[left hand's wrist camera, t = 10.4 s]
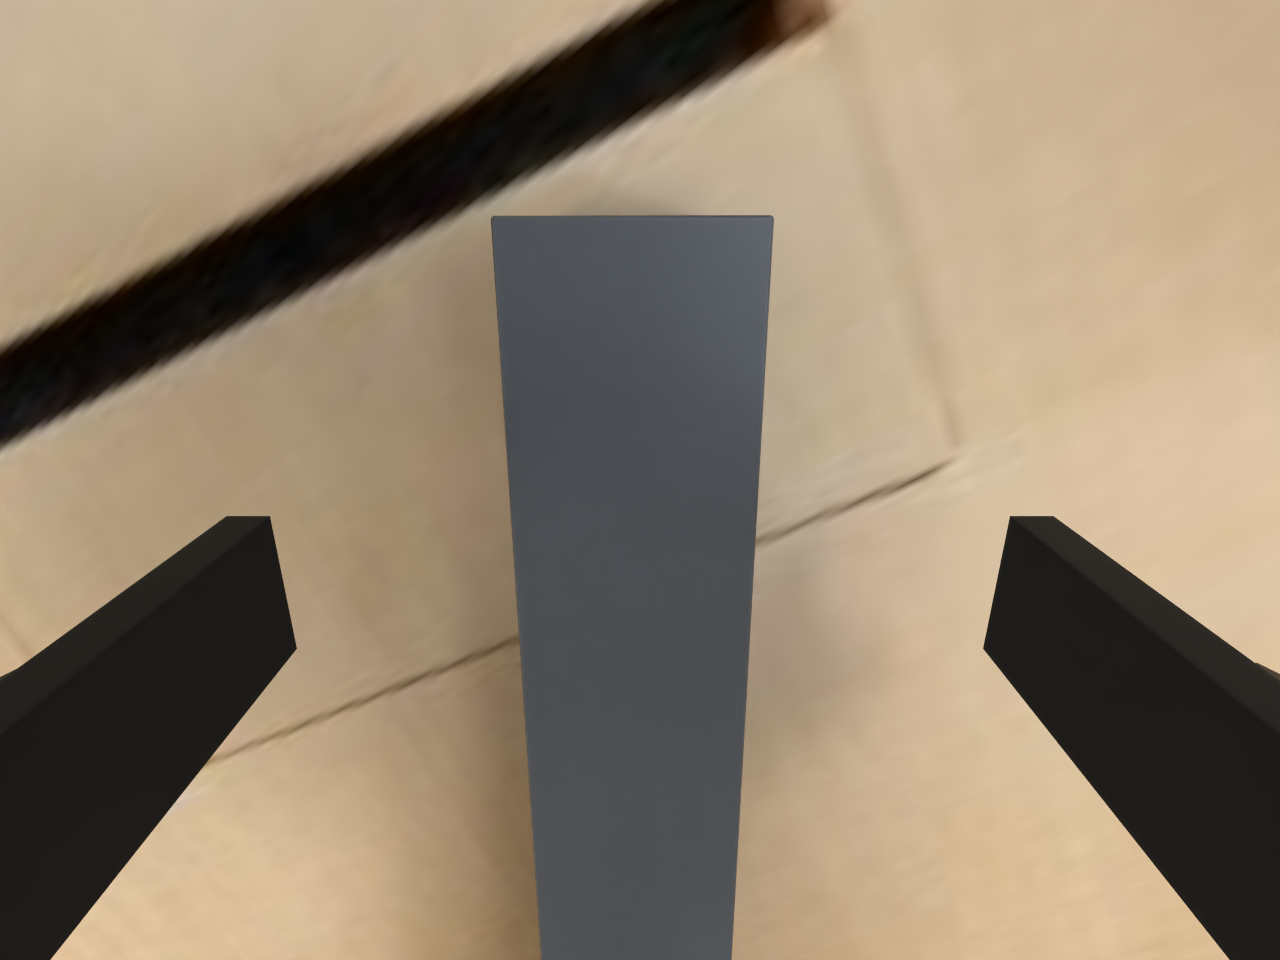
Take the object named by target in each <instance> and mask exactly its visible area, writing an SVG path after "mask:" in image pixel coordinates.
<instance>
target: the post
mask: <svg viewBox="0 0 1280 960" xmlns="http://www.w3.org/2000/svg"><path fill="white" fill-rule="evenodd" d="M773 223H774V218H773V216H771V215H709V216H493V217H492V218H491V228H492V243H493V257H494V272H495V287H496V301H497V316H498V331H499V346H500V360H501V375H502V390H503V404H504V419H505V434H506V449H507V463H508V478H509V493H510V507H511V522H512V537H513V552H514V566H515V581H516V596H517V610H518V625H519V640H520V655H521V669H522V684H523V699H524V713H525V728H526V743H527V758H528V772H529V787H530V802H531V816H532V831H533V846H534V861H535V875H536V890H537V905H538V919H539V934H540V949H541V960H731V958H732V941H733V923H734V906H735V888H736V871H737V853H738V836H739V818H740V801H741V783H742V766H743V748H744V731H745V713H746V696H747V678H748V661H749V643H750V626H751V608H752V591H753V573H754V556H755V538H756V521H757V503H758V486H759V468H760V451H761V433H762V416H763V398H764V381H765V363H766V346H767V328H768V311H769V293H770V276H771V258H772V241H773Z"/></svg>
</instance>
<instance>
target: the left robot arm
mask: <svg viewBox="0 0 1280 960" xmlns="http://www.w3.org/2000/svg"><path fill="white" fill-rule="evenodd" d="M296 649H297V647H296V642H295V637H294V633H293V628H292V623H291V618H290V613H289V608H288V603H287V598H286V593H285V588H284V583H283V579H282V574H281V569H280V564H279V559H278V554H277V549H276V544H275V539H274V534H273V529H272V525H271V520H270V516H226V517H225V518H224V519H222V520H221V521H219V522H218V523H217V524H215V525H214V526H213V527H211V528H210V529H208V530H207V531H206V532H204V533H203V534H202V535H200V536H199V537H197V538H196V539H195V540H193V541H192V542H191V543H189V544H188V545H187V546H185V547H184V548H182V549H181V550H180V551H178V552H177V553H176V554H174V555H173V556H171V557H170V558H169V559H167V560H166V561H165V562H163V563H162V564H160V565H159V566H158V567H156V568H155V569H154V570H152V571H151V572H149V573H148V574H147V575H145V576H144V577H143V578H141V579H140V580H138V581H137V582H136V583H134V584H133V585H132V586H130V587H129V588H127V589H126V590H125V591H123V592H122V593H121V594H119V595H118V596H116V597H115V598H114V599H112V600H111V601H110V602H108V603H107V604H106V605H104V606H103V607H101V608H100V609H99V610H97V611H96V612H95V613H93V614H92V615H90V616H89V617H88V618H86V619H85V620H84V621H82V622H81V623H79V624H78V625H77V626H75V627H74V628H73V629H71V630H70V631H68V632H67V633H66V634H64V635H63V636H62V637H60V638H59V639H57V640H56V641H55V642H53V643H52V644H51V645H49V646H48V647H46V648H45V649H44V650H42V651H41V652H40V653H38V654H37V655H36V656H34V657H33V658H31V659H30V660H29V661H27V662H26V663H25V664H23V665H22V666H20V667H19V668H18V669H16V670H14V671H12V672H10V673H8V674H6V675H4V676H1V677H0V960H50V959H51V958H52V957H53V956H54V954H55V953H56V952H57V951H58V949H59V948H60V947H61V946H62V944H63V943H64V942H65V941H66V939H67V938H68V937H69V935H70V934H71V933H72V932H73V930H74V929H75V928H76V927H77V925H78V924H79V923H80V922H81V920H82V919H83V918H84V917H85V915H86V914H87V913H88V911H89V910H90V909H91V908H92V906H93V905H94V904H95V903H96V901H97V900H98V899H99V898H100V896H101V895H102V894H103V893H104V891H105V890H106V889H107V888H108V886H109V885H110V884H111V882H112V881H113V880H114V879H115V877H116V876H117V875H118V874H119V872H120V871H121V870H122V869H123V867H124V866H125V865H126V864H127V862H128V861H129V860H130V858H131V857H132V856H133V855H134V853H135V852H136V851H137V850H138V848H139V847H140V846H141V845H142V843H143V842H144V841H145V840H146V838H147V837H148V836H149V834H150V833H151V832H152V831H153V829H154V828H155V827H156V826H157V824H158V823H159V822H160V821H161V819H162V818H163V817H164V816H165V814H166V813H167V812H168V810H169V809H170V808H171V807H172V805H173V804H174V803H175V802H176V800H177V799H178V798H179V797H180V795H181V794H182V793H183V792H184V790H185V789H186V788H187V786H188V785H189V784H190V783H191V781H192V780H193V779H194V778H195V776H196V775H197V774H198V773H199V771H200V770H201V769H202V768H203V766H204V765H205V764H206V763H207V761H208V760H209V759H210V757H211V756H212V755H213V754H214V752H215V751H216V750H217V749H218V747H219V746H220V745H221V744H222V742H223V741H224V740H225V739H226V737H227V736H228V735H229V733H230V732H231V731H232V730H233V728H234V727H235V726H236V725H237V723H238V722H239V721H240V720H241V718H242V717H243V716H244V715H245V713H246V712H247V711H248V709H249V708H250V707H251V706H252V704H253V703H254V702H255V701H256V699H257V698H258V697H259V696H260V694H261V693H262V692H263V691H264V689H265V688H266V687H267V685H268V684H269V683H270V682H271V680H272V679H273V678H274V677H275V675H276V674H277V673H278V672H279V670H280V669H281V668H282V667H283V665H284V664H285V663H286V661H287V660H288V659H289V658H290V656H291V655H292V654H293V653H294V651H295V650H296ZM983 649H984V650H985V651H986V653H987V654H988V655H989V656H990V658H991V659H992V660H993V661H994V663H995V664H996V665H997V667H998V668H999V669H1000V670H1001V672H1002V673H1003V674H1004V675H1005V677H1006V678H1007V679H1008V680H1009V682H1010V683H1011V684H1012V685H1013V687H1014V688H1015V689H1016V691H1017V692H1018V693H1019V694H1020V696H1021V697H1022V698H1023V699H1024V701H1025V702H1026V703H1027V704H1028V706H1029V707H1030V708H1031V709H1032V711H1033V712H1034V713H1035V715H1036V716H1037V717H1038V718H1039V720H1040V721H1041V722H1042V723H1043V725H1044V726H1045V727H1046V728H1047V730H1048V731H1049V732H1050V733H1051V735H1052V736H1053V737H1054V739H1055V740H1056V741H1057V742H1058V744H1059V745H1060V746H1061V747H1062V749H1063V750H1064V751H1065V752H1066V754H1067V755H1068V756H1069V757H1070V759H1071V760H1072V761H1073V763H1074V764H1075V765H1076V766H1077V768H1078V769H1079V770H1080V771H1081V773H1082V774H1083V775H1084V776H1085V778H1086V779H1087V780H1088V781H1089V783H1090V784H1091V785H1092V786H1093V788H1094V789H1095V790H1096V792H1097V793H1098V794H1099V795H1100V797H1101V798H1102V799H1103V800H1104V802H1105V803H1106V804H1107V805H1108V807H1109V808H1110V809H1111V810H1112V812H1113V813H1114V814H1115V816H1116V817H1117V818H1118V819H1119V821H1120V822H1121V823H1122V824H1123V826H1124V827H1125V828H1126V829H1127V831H1128V832H1129V833H1130V834H1131V836H1132V837H1133V838H1134V840H1135V841H1136V842H1137V843H1138V845H1139V846H1140V847H1141V848H1142V850H1143V851H1144V852H1145V853H1146V855H1147V856H1148V857H1149V858H1150V860H1151V861H1152V862H1153V864H1154V865H1155V866H1156V867H1157V869H1158V870H1159V871H1160V872H1161V874H1162V875H1163V876H1164V877H1165V879H1166V880H1167V881H1168V882H1169V884H1170V885H1171V886H1172V888H1173V889H1174V890H1175V891H1176V893H1177V894H1178V895H1179V896H1180V898H1181V899H1182V900H1183V901H1184V903H1185V904H1186V905H1187V906H1188V908H1189V909H1190V910H1191V911H1192V913H1193V914H1194V915H1195V917H1196V918H1197V919H1198V920H1199V922H1200V923H1201V924H1202V925H1203V927H1204V928H1205V929H1206V930H1207V932H1208V933H1209V934H1210V935H1211V937H1212V938H1213V939H1214V941H1215V942H1216V943H1217V944H1218V946H1219V947H1220V948H1221V949H1222V951H1223V952H1224V953H1225V954H1226V956H1227V957H1228V958H1229V959H1230V960H1280V674H1279V673H1277V672H1275V671H1273V670H1270V669H1268V668H1266V667H1264V666H1262V665H1260V664H1258V663H1254V662H1253V661H1251V660H1250V659H1249V658H1247V657H1246V656H1244V655H1243V654H1242V653H1240V652H1239V651H1238V650H1236V649H1235V648H1234V647H1232V646H1231V645H1229V644H1228V643H1227V642H1225V641H1224V640H1223V639H1221V638H1220V637H1218V636H1217V635H1216V634H1214V633H1213V632H1212V631H1210V630H1209V629H1207V628H1206V627H1205V626H1203V625H1202V624H1201V623H1199V622H1198V621H1196V620H1195V619H1194V618H1192V617H1191V616H1190V615H1188V614H1187V613H1185V612H1184V611H1183V610H1181V609H1180V608H1179V607H1177V606H1176V605H1174V604H1173V603H1172V602H1170V601H1169V600H1168V599H1166V598H1165V597H1164V596H1162V595H1161V594H1159V593H1158V592H1157V591H1155V590H1154V589H1153V588H1151V587H1150V586H1148V585H1147V584H1146V583H1144V582H1143V581H1142V580H1140V579H1139V578H1137V577H1136V576H1135V575H1133V574H1132V573H1131V572H1129V571H1128V570H1126V569H1125V568H1124V567H1122V566H1121V565H1120V564H1118V563H1117V562H1115V561H1114V560H1113V559H1111V558H1110V557H1109V556H1107V555H1106V554H1104V553H1103V552H1102V551H1100V550H1099V549H1098V548H1096V547H1095V546H1093V545H1092V544H1091V543H1089V542H1088V541H1087V540H1085V539H1084V538H1083V537H1081V536H1080V535H1078V534H1077V533H1076V532H1074V531H1073V530H1072V529H1070V528H1069V527H1067V526H1066V525H1065V524H1063V523H1062V522H1061V521H1059V520H1058V519H1056V518H1055V517H1054V516H1010V520H1009V525H1008V529H1007V534H1006V539H1005V544H1004V549H1003V554H1002V559H1001V564H1000V569H999V574H998V579H997V583H996V588H995V593H994V598H993V603H992V608H991V613H990V618H989V623H988V628H987V633H986V637H985V642H984V647H983Z"/></svg>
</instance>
